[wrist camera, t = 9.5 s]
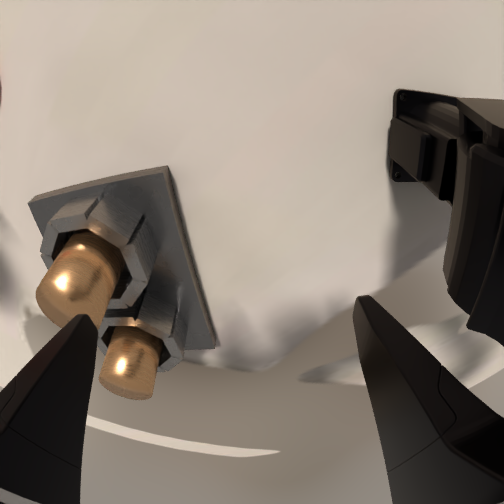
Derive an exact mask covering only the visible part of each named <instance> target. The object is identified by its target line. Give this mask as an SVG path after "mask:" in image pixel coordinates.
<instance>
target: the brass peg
mask: <svg viewBox="0 0 504 504" xmlns="http://www.w3.org/2000/svg"><path fill="white" fill-rule="evenodd" d="M125 264H126V262H125V259H124V257H123V255H122V252H121V250H120V248H118V247H116V246H115V245H113V244H112V243H110V242H108V241H107V240H105V239H103V238H102V237H100V236H99V235H97V234H95V233H94V232H92V231H91V230H89V229H88V228H85V229H79V230H76V231H75V232H74V234H73V235H72V236H71V238H70V239H69V240H68V242H67V243H66V245H65V246H64V248H63V249H62V250H61V252H60V253H59V255H58V256H57V258H56V259H55V261H54V262H53V264H52V265H51V267H50V268H49V270H48V272H47V273H46V275H45V276H44V278H43V279H42V281H41V283H40V284H39V286H38V288H37V290H36V300H37V303H38V305H39V307H40V309H41V310H42V312H43V313H44V314H45V315H46V316H47V317H48V318H49V319H50V320H51V321H52V322H53V323H55V324H56V325H57V326H59V327H61V328H63V327H64V326H65V325H66V324H67V323H68V322H69V321H70V320H71V319H72V318H74V317H75V316H76V315H77V314H87V315H89V317H90V318H91V320H92V321H93V323H94V324H95V326H96V327H97V329H99V328H100V325H101V323H102V320H103V317H104V315H105V312H106V310H107V307H108V304H109V302H110V299H111V297H112V294H113V292H114V290H115V287H116V285H117V282H118V280H119V278H120V275H121V273H122V271H123V268H124V266H125Z"/></svg>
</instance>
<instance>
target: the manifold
mask: <svg viewBox="0 0 504 504" xmlns="http://www.w3.org/2000/svg"><path fill="white" fill-rule="evenodd" d="M28 205H29V207H30V210H31V212H32V214H33V217H34V219H35V221H36V223H37V226H38V228H39V230H40V232H41V234H42V236H43V241H42V245H41V249H40V252H41V253H42V254H41V257H42V259H43V261H44V263H45V265H46V267H47V269H48V270H49V268H50V267H51V265H52V264H53V262H54V261H55V259H56V258H57V256H58V255H59V253H60V252H61V250H62V249H63V248H64V246H65V245H66V243H67V242H68V240H69V239H70V238H71V236H72V235H73V234H74V232H75V231H76V230H79V229H85V228H88V229H89V230H91V231H92V232H94V233H95V234H97V235H99V236H100V237H102V238H103V239H105V240H107V241H108V242H110V243H112V244H113V245H115V246H116V247H118V248H120V250H121V252H122V255H123V257H124V259H125V262H126V264H125V266H124V268H123V271H122V273H121V275H120V278H119V280H118V282H117V285H116V287H115V290H114V292H113V294H112V297H111V299H110V302H109V304H108V307H107V310H106V312H105V315H104V317H103V320H102V323H101V325H100V328H99V329H98V342H97V346H98V347H99V349H100V350H101V351H102V352H103V354H104V355H105V359H104V362H103V366H102V369H101V372H100V375H99V381H100V383H101V384H102V385H103V386H104V387H105V388H106V389H107V390H109V391H111V392H112V393H114V394H116V395H119V396H122V397H125V398H129V399H134V400H145V399H149V398H151V397H152V394H153V389H154V383H155V378H156V373H157V372H165V370H166V371H169V370H170V369H172V368H173V367H174V366H176V365H177V364H178V363H179V362H181V361H182V360H183V356H184V350H193V349H215V343H216V338H215V335H214V332H213V329H212V326H211V323H210V319H209V316H208V313H207V310H206V307H205V303H204V300H203V297H202V293H201V290H200V287H199V283H198V280H197V277H196V273H195V270H194V266H193V263H192V259H191V255H190V252H189V248H188V245H187V241H186V237H185V233H184V230H183V226H182V222H181V218H180V214H179V210H178V206H177V203H176V198H175V194H174V190H173V186H172V182H171V178H170V174H169V169H168V166H162V167H156V168H151V169H145V170H140V171H135V172H130V173H125V174H120V175H116V176H111V177H106V178H102V179H98V180H93V181H89V182H85V183H81V184H77V185H73V186H69V187H65V188H62V189H58V190H54V191H51V192H47V193H44V194H40V195H37V196H35V197H34V198H33V199H32V200H30V201H29V202H28Z"/></svg>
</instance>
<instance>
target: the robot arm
mask: <svg viewBox="0 0 504 504" xmlns="http://www.w3.org/2000/svg"><path fill="white" fill-rule="evenodd" d="M402 93H403V94H404V98H403V99H402V100H401V99H400V95H401V94H402ZM389 156H390V157H391V161H390V172H389V175H390V177H391V179H392V180H393V181H395V182H422V183H423V184H424V185H425V186H426V187H427V188H428V189H429V190H430V191H431V192H432V193H433V194H434V195H435V196H436V197H437V198H438V199H440V200H442V201H445V200H446V201H447V202H448V203H449V204H450V205H451V206H452V214H451V221H450V228H449V234H448V240H447V246H446V251H445V256H444V265H443V271H444V275H445V279H446V282H447V285H448V289H447V291H448V294H449V295H450V296H451V298H452V299H453V301H454V302H455V303H456V304H457V305H458V306H459V307H460V308H461V309H463V310H464V311H465V312H466V313H467V314H469V315H470V317H469V320H468V322H467V324H466V326H467V328H468V329H470V330H473V331H476V332H480V333H483V334H486V335H487V336H489V337H491V338H493V339H494V340H496V341H498V342H499V343H500V344H501V345H503V346H504V100H499V99H481V98H458V97H453V96H448V95H442V94H436V93H430V92H423V91H415V90H407V89H397V90H396V91H395V92H394V110H393V118H392V120H391V127H390V144H389ZM397 172H399V174H398V175H397V176H395V174H396V173H397ZM353 323H354V329H355V334H356V340H357V346H358V352H359V358H360V363H361V367H362V371H363V374H364V378H365V382H366V385H367V389H368V393H369V396H370V400H371V404H372V408H373V412H374V416H375V420H376V424H377V428H378V433H379V436H380V441H381V445H382V450H383V455H384V459H385V464H386V469H387V472H388V473H387V475H388V480H389V485H390V491H391V496H392V502H393V504H504V418H503V417H501V416H500V415H498V414H497V413H496V412H494V411H493V410H492V409H491V408H489V407H488V406H487V405H486V404H485V403H484V402H482V401H481V400H480V399H479V398H478V397H476V396H475V395H474V394H473V393H472V392H471V391H469V390H468V389H467V388H466V387H465V386H464V385H463V384H461V383H460V382H459V381H458V380H457V379H456V378H455V377H454V376H453V375H452V374H451V373H450V372H449V371H448V370H447V369H446V368H445V367H444V366H443V365H442V366H441V363H440V362H439V361H438V360H437V359H436V358H435V357H434V356H433V355H432V354H431V353H430V352H429V351H428V350H427V349H426V348H425V347H424V346H423V345H422V344H421V343H420V342H419V341H418V340H417V339H416V338H415V337H414V336H413V335H411V334H410V333H409V332H408V331H407V330H406V329H405V328H404V327H403V326H402V325H401V324H400V323H399V322H398V321H397V320H396V319H395V318H394V317H393V316H392V315H390V314H389V313H388V312H387V311H386V310H385V309H384V308H383V307H382V306H381V305H380V304H379V303H378V302H376V301H375V300H374V299H373V298H372V297H371V296H369V295H364V296H358V297H357V298H356V301H355V306H354V311H353ZM97 342H98V329H97V327H96V326H95V324H94V323H93V321H92V320H91V318H90V317H89V315H87V314H77V315H76V316H75V317H74V318H72V319H71V320H70V321H69V322H68V323H67V324H66V325H65V326H64V327H63V328H62V329H61V330H60V331H59V332H58V333H57V334H56V335H55V336H54V337H53V338H52V339H51V340H50V341H49V342H48V343H47V344H46V345H45V346H44V347H43V348H42V349H41V350H40V351H39V352H38V353H37V354H36V355H35V356H34V357H33V358H32V359H31V360H30V361H29V362H28V363H27V364H26V365H25V366H24V367H23V368H22V370H21V371H20V372H19V373H18V374H17V376H15V377H14V378H13V379H12V380H11V381H10V382H9V383H8V385H7V386H6V387H5V388H4V389H3V390H2V391H1V392H0V504H80V486H81V485H80V484H81V466H82V454H83V453H82V452H83V443H84V434H85V426H86V419H87V411H88V404H89V399H90V392H91V387H92V381H93V375H94V369H95V359H96V350H97Z"/></svg>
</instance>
